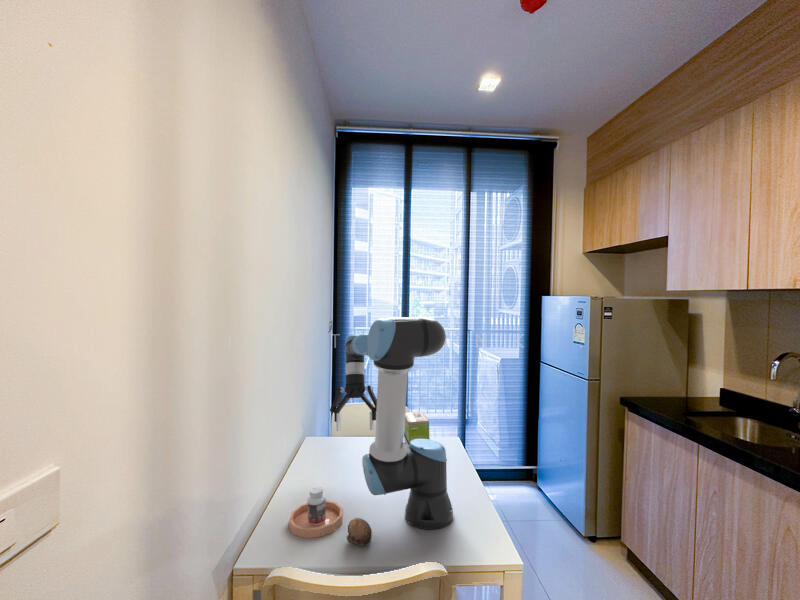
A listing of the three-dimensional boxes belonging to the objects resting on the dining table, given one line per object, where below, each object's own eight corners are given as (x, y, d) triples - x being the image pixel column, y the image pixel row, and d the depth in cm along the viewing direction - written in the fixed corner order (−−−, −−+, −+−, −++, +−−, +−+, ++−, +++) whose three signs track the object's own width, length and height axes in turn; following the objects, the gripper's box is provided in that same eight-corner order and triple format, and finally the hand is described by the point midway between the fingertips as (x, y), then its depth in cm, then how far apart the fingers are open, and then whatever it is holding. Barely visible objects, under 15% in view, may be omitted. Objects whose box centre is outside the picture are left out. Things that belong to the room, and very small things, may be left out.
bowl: (351, 524, 113) (351, 516, 114) (301, 544, 104) (301, 536, 104) (329, 502, 126) (329, 495, 127) (282, 518, 117) (282, 511, 117)
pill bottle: (304, 522, 114) (303, 490, 114) (318, 514, 118) (318, 483, 118) (314, 528, 111) (314, 496, 111) (329, 520, 115) (328, 489, 115)
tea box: (403, 442, 182) (402, 412, 182) (423, 440, 183) (422, 410, 183) (408, 454, 167) (408, 421, 167) (430, 452, 168) (429, 419, 168)
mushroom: (335, 531, 105) (348, 514, 105) (353, 529, 111) (365, 512, 111) (350, 557, 99) (364, 538, 99) (368, 552, 106) (381, 535, 106)
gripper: (387, 372, 148) (389, 428, 141) (330, 376, 154) (329, 430, 147) (381, 371, 141) (383, 429, 135) (322, 375, 147) (320, 431, 140)
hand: (355, 430), depth 141 cm, fingers open, 13 cm apart
